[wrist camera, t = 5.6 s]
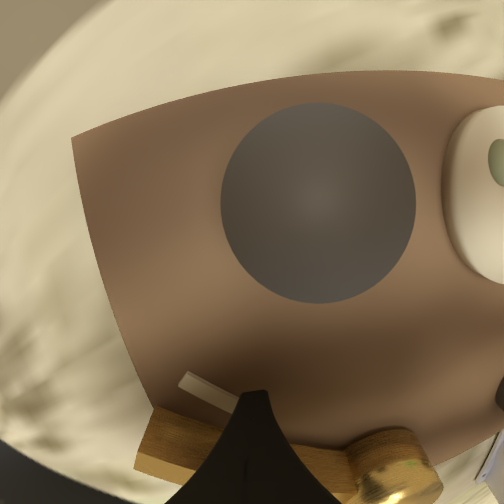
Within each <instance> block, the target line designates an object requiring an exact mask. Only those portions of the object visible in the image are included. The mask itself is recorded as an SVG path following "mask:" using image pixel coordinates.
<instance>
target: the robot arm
mask: <svg viewBox="0 0 504 504" xmlns="http://www.w3.org/2000/svg"><path fill="white" fill-rule="evenodd" d="M484 480H485V482H486V483H487V485H488V487H489V488H490V490H491V491H492V493H493V495H494V496H495V498H496V500H497V501H498V503H499V504H504V429H502V430H501V431H500V433H499V435H498V437H497V439H496V442H495V444H494V446H493V448H492V450H491V452H490V454H489V456H488V458H487V460H486V462H485V464H484V466H483V467H482V469H481V471H480V473H479V475H478V477H477V478H476V480H475V483H476V484H479V483H481V482H483V481H484ZM165 504H342V503H341V502H340V501H339V500H338V499H337V498H335V497H334V496H333V495H332V494H331V493H330V492H329V491H328V490H327V489H326V488H325V487H324V486H323V485H322V484H321V483H320V482H319V481H318V480H317V479H316V478H315V477H314V476H313V474H312V473H311V472H310V471H309V470H308V469H307V467H306V466H305V465H304V464H303V462H302V461H301V460H300V458H299V457H298V456H297V454H296V453H295V451H294V450H293V449H292V447H291V445H290V444H289V442H288V441H287V439H286V438H285V436H284V434H283V432H282V430H281V429H280V427H279V425H278V423H277V421H276V419H275V417H274V414H273V411H272V407H271V403H270V398H269V394H268V391H266V390H264V389H263V390H256V391H250V392H243V393H242V394H241V395H240V397H239V399H238V402H237V404H236V406H235V409H234V411H233V413H232V415H231V417H230V419H229V421H228V423H227V425H226V427H225V428H224V430H223V432H222V434H221V436H220V437H219V439H218V441H217V442H216V444H215V445H214V447H213V448H212V450H211V451H210V453H209V454H208V456H207V457H206V459H205V460H204V462H203V463H202V464H201V466H200V467H199V468H198V469H197V471H196V472H195V473H194V474H193V475H192V477H191V478H190V479H189V480H188V481H187V482H186V483H185V484H184V485H183V486H182V487H181V488H180V489H179V490H178V491H177V492H176V493H175V494H174V495H173V496H172V497H171V498H170V499H169V500H168V501H167V502H166V503H165Z"/></svg>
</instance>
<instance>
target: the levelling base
mask: <svg viewBox="0 0 504 504" xmlns="http://www.w3.org/2000/svg"><path fill="white" fill-rule="evenodd" d="M71 140H72V148H73V154H74V161H75V167H76V173H77V179H78V184H79V189H80V194H81V199H82V204H83V208H84V213H85V217H86V222H87V226H88V230H89V234H90V238H91V242H92V246H93V249H94V253H95V256H96V260H97V264H98V267H99V270H100V274H101V277H102V280H103V283H104V287H105V290H106V293H107V296H108V299H109V302H110V305H111V308H112V310H113V313H114V316H115V319H116V322H117V324H118V327H119V330H120V332H121V335H122V338H123V340H124V343H125V345H126V348H127V350H128V353H129V355H130V358H131V360H132V362H133V365H134V367H135V369H136V372H137V374H138V376H139V378H140V381H141V383H142V385H143V387H144V389H145V392H146V394H147V396H148V398H149V400H150V402H151V404H152V406H153V408H155V406H158V407H160V408H163V409H166V410H169V411H171V412H174V413H177V414H180V415H183V416H186V417H189V418H192V419H195V420H198V421H201V422H204V423H208V424H211V425H214V426H218V427H221V428H225V427H226V425H227V423H228V421H229V419H230V417H231V415H232V413H233V411H234V409H235V406H236V404H237V402H238V399H239V397H240V395H241V394H242V393H243V392H250V391H256V390H263V389H264V390H266V391H268V394H269V398H270V403H271V407H272V411H273V414H274V417H275V419H276V421H277V423H278V425H279V427H280V429H281V430H282V432H283V434H284V436H285V438H286V439H287V441H288V442H289V443H290V444H296V445H301V446H308V447H314V448H321V449H328V450H336V451H344V450H345V449H346V448H348V447H349V446H351V445H352V444H354V443H356V442H357V441H359V440H361V439H363V438H365V437H368V436H370V435H373V434H376V433H379V432H382V431H386V430H393V429H404V430H409V431H411V432H413V433H414V434H415V435H416V437H417V438H418V440H419V442H420V444H421V445H422V447H423V449H424V451H425V453H426V454H427V456H428V458H429V460H430V462H431V463H432V465H433V466H435V465H437V464H440V463H442V462H444V461H446V460H448V459H450V458H452V457H454V456H456V455H458V454H460V453H462V452H464V451H466V450H468V449H470V448H472V447H474V446H475V445H477V444H479V443H481V442H483V441H484V440H486V439H488V438H489V437H491V436H493V435H494V434H496V433H498V432H499V431H501V430H502V429H504V81H503V80H497V79H491V78H485V77H478V76H470V75H462V74H452V73H441V72H426V71H391V70H385V71H350V72H334V73H322V74H311V75H302V76H294V77H286V78H279V79H272V80H266V81H260V82H254V83H249V84H243V85H238V86H233V87H228V88H224V89H219V90H215V91H210V92H206V93H202V94H198V95H194V96H190V97H186V98H183V99H179V100H175V101H172V102H168V103H165V104H162V105H158V106H155V107H152V108H149V109H146V110H143V111H140V112H137V113H134V114H131V115H128V116H125V117H122V118H119V119H117V120H114V121H111V122H109V123H106V124H103V125H101V126H98V127H96V128H93V129H91V130H88V131H86V132H84V133H81V134H79V135H77V136H74V137H72V138H71Z"/></svg>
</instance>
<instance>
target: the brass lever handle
mask: <svg viewBox="0 0 504 504" xmlns="http://www.w3.org/2000/svg"><path fill="white" fill-rule="evenodd" d="M223 430H224V428H221V427H218V426H214V425H211V424H208V423H204V422H201V421H198V420H195V419H192V418H189V417H186V416H183V415H180V414H177V413H174V412H171V411H169V410H166V409H163V408H160V407H158V406H155V408H154V411H153V413H152V416H151V418H150V421H149V423H148V426H147V428H146V431H145V433H144V436H143V438H142V441H141V444H140V446H139V449H138V451H137V456H136V460H135V464H134V469H135V470H138V471H140V472H143V473H146V474H148V475H151V476H154V477H157V478H160V479H163V480H166V481H169V482H172V483H176V484H179V485H184V484H185V483H186V482H187V481H188V480H189V479H190V478H191V477H192V475H193V474H194V473H195V472H196V471H197V469H198V468H199V467H200V466H201V464H202V463H203V462H204V460H205V459H206V457H207V456H208V454H209V453H210V451H211V450H212V448H213V447H214V445H215V444H216V442H217V441H218V439H219V437H220V436H221V434H222V432H223ZM289 444H290V443H289ZM290 445H291V447H292V449H293V450H294V451H295V453H296V454H297V456H298V457H299V458H300V460H301V461H302V462H303V464H304V465H305V466H306V467H307V469H308V470H309V471H310V472H311V473H312V474H313V476H314V477H315V478H316V479H317V480H318V481H319V482H320V483H321V484H322V485H323V486H324V487H325V488H326V489H327V490H328V491H329V492H330V493H331V494H332V495H333V496H334V497H335V498H337V499H338V500H339V501H340V502H341V503H342V504H433V503H434V502H435V501H436V500H437V499H438V497H439V496H440V495H441V493H442V491H443V484H442V482H441V480H440V478H439V476H438V474H437V473H436V471H435V469H434V467H433V465H432V463H431V462H430V460H429V458H428V456H427V454H426V453H425V451H424V449H423V447H422V445H421V444H420V442H419V440H418V438H417V437H416V435H415V434H414V433H413V432H411V431H409V430H404V429H393V430H386V431H382V432H379V433H376V434H373V435H370V436H368V437H365V438H363V439H361V440H359V441H357V442H356V443H354V444H352V445H351V446H349V447H348V448H346V449H345V450H344V451H336V450H328V449H321V448H314V447H308V446H301V445H296V444H290Z"/></svg>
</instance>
